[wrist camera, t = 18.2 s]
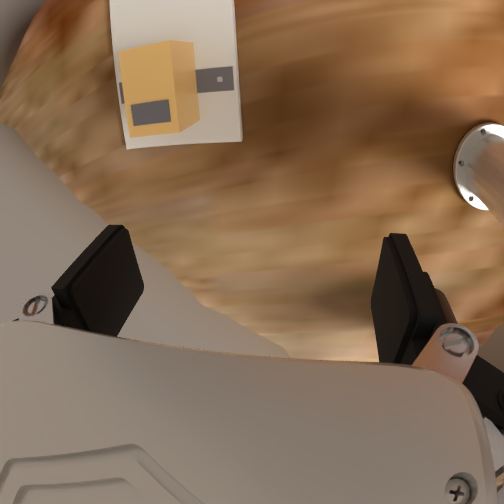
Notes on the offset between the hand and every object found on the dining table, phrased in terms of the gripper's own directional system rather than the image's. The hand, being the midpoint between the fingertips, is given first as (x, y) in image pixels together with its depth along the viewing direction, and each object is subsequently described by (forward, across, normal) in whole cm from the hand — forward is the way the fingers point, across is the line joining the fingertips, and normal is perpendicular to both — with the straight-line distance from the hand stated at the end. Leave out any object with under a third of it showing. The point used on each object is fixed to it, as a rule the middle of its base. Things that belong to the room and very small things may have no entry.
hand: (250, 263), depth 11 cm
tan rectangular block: (+29, +14, -5) cm, 33 cm away
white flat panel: (+30, +14, -11) cm, 35 cm away
